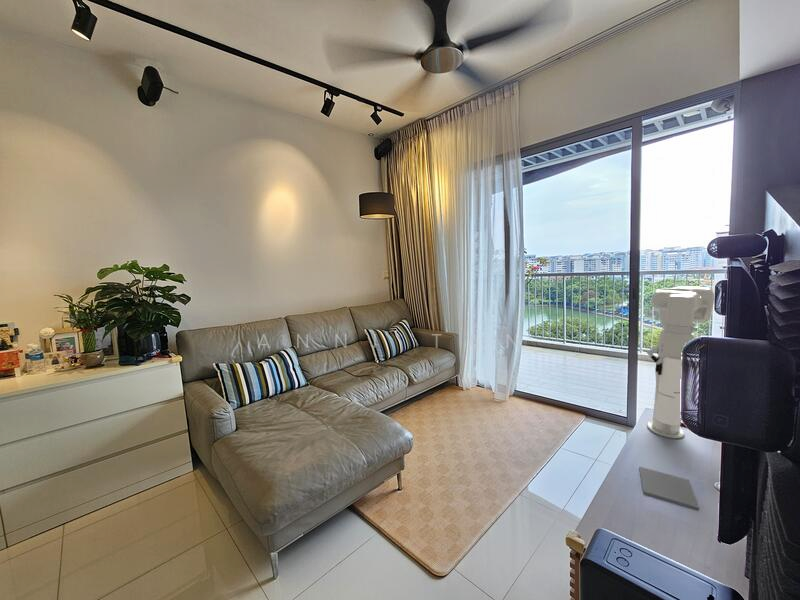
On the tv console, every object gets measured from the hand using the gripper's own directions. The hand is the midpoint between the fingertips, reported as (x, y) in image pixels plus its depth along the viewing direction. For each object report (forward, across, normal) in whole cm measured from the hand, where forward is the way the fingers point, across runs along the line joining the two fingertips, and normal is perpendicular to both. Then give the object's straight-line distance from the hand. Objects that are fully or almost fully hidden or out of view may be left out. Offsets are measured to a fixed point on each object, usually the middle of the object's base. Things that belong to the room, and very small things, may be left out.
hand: (672, 375), depth 120 cm
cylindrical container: (+18, 0, 0) cm, 18 cm away
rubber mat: (+34, +1, +18) cm, 38 cm away
